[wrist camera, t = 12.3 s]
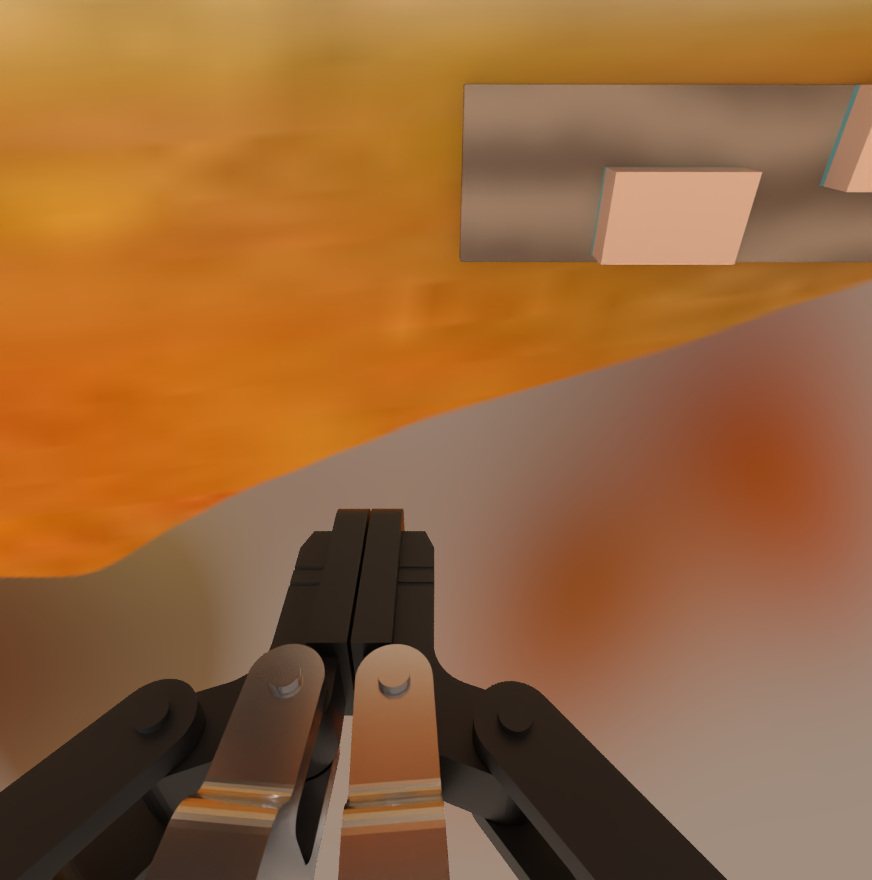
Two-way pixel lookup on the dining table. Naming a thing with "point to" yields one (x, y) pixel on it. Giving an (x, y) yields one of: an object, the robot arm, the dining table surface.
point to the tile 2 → (853, 147)
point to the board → (652, 164)
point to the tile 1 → (672, 215)
